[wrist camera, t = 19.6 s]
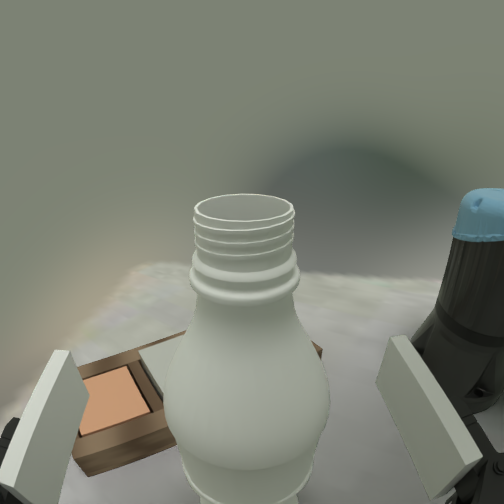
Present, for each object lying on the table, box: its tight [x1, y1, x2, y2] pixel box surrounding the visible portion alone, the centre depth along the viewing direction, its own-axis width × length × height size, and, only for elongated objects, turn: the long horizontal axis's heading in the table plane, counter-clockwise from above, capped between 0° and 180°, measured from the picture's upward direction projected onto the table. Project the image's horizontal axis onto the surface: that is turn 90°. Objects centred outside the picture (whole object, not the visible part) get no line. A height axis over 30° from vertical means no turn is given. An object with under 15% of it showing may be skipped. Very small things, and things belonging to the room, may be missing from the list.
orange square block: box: [79, 366, 151, 437], centre depth 28 cm, size 7×7×3 cm
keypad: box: [72, 330, 322, 477], centre depth 33 cm, size 28×12×4 cm, turn 125°
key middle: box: [138, 335, 184, 402], centre depth 32 cm, size 7×7×3 cm
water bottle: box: [163, 194, 330, 504], centre depth 15 cm, size 7×7×25 cm
